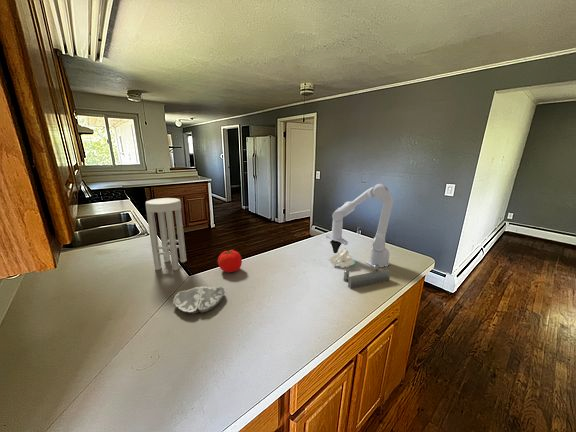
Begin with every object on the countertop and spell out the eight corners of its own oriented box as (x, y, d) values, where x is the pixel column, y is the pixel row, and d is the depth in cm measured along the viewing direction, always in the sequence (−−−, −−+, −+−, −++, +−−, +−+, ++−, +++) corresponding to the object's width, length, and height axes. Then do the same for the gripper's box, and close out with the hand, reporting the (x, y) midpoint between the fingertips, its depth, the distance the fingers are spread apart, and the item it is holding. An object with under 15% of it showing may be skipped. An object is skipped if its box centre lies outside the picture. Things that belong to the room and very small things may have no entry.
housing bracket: (377, 272, 123) (378, 263, 121) (388, 280, 115) (390, 271, 114) (340, 279, 115) (341, 270, 114) (350, 288, 108) (351, 279, 106)
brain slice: (169, 322, 86) (168, 315, 85) (177, 295, 101) (176, 289, 101) (225, 313, 91) (225, 307, 90) (224, 289, 106) (224, 283, 106)
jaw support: (351, 267, 121) (339, 251, 124) (339, 274, 126) (328, 259, 129) (360, 259, 130) (349, 245, 133) (348, 267, 136) (338, 253, 138)
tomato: (244, 266, 127) (244, 246, 124) (238, 277, 116) (237, 256, 113) (223, 264, 128) (222, 245, 125) (214, 275, 117) (213, 254, 114)
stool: (179, 272, 120) (171, 204, 111) (148, 271, 120) (138, 203, 111) (191, 258, 135) (185, 198, 126) (164, 258, 135) (156, 197, 126)
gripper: (351, 232, 132) (349, 255, 136) (332, 226, 143) (330, 247, 147) (343, 235, 128) (341, 258, 132) (323, 228, 139) (322, 249, 143)
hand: (335, 252), depth 139 cm, fingers closed
